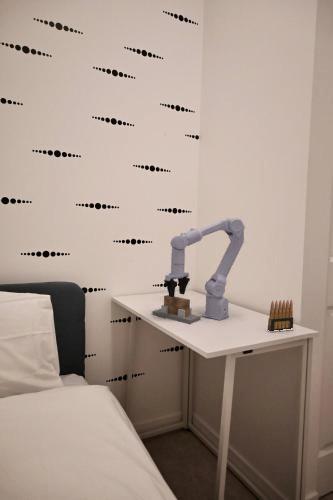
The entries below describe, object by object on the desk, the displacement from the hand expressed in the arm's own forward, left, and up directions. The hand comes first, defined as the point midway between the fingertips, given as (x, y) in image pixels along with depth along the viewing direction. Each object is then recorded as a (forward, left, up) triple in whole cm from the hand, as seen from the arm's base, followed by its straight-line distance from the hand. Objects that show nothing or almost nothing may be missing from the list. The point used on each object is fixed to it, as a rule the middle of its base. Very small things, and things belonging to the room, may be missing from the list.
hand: (176, 295), depth 136 cm
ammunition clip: (-40, -14, -10) cm, 44 cm away
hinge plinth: (0, 0, -9) cm, 9 cm away
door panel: (0, 0, -8) cm, 8 cm away
